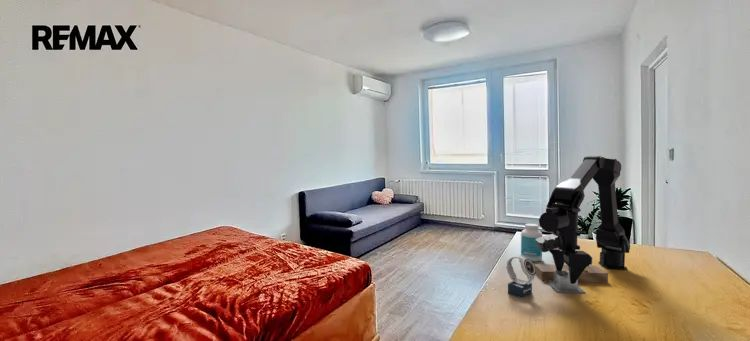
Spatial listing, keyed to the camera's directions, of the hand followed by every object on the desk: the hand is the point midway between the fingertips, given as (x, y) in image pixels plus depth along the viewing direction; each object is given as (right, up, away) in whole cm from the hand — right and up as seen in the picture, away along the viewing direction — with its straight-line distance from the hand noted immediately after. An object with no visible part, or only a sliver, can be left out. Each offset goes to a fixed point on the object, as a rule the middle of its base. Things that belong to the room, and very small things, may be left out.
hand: (565, 277), depth 103 cm
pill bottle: (+2, -2, +27) cm, 27 cm away
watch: (-15, -4, -4) cm, 16 cm away
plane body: (+6, -3, +8) cm, 10 cm away
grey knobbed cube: (0, -3, 0) cm, 3 cm away
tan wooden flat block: (+10, +1, +7) cm, 12 cm away
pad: (0, -3, 0) cm, 3 cm away
